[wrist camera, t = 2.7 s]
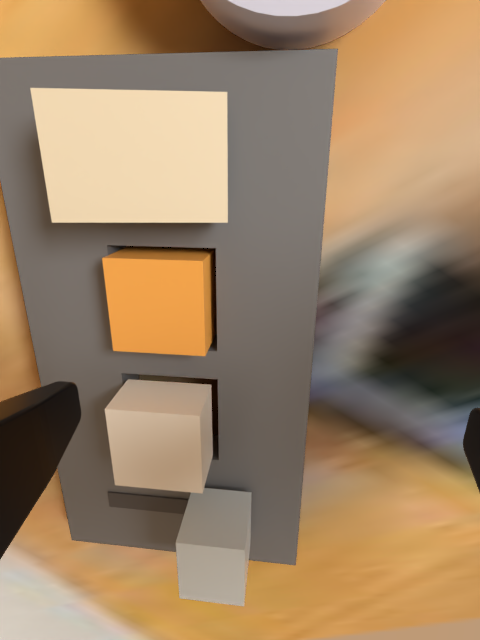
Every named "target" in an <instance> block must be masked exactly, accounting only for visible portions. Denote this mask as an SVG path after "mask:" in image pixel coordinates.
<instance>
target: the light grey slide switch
mask: <svg viewBox="0 0 480 640" xmlns="http://www.w3.org/2000/svg"><path fill="white" fill-rule="evenodd" d="M251 494H252V492H243V491H233V490H222V489H211V488H204V490H203V494H202V493H192V492H191V494H190V497H189V500H188V504H187V507H186V510H185V514H184V517H183V520H182V523H181V527H180V530H179V533H178V537H177V540H176V555H177V569H178V584H179V598H181V599H189V600H197V601H205V602H213V603H221V604H229V605H237V606H244V603H245V592H246V582H247V572H248V562H249V552H250V538H251Z"/></svg>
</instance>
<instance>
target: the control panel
mask: <svg viewBox="0 0 480 640" xmlns="http://www.w3.org/2000/svg"><path fill="white" fill-rule="evenodd" d="M337 52H338V49H313V50H276V51H238V52H201V53H163V54H126V55H89V56H51V57H14V58H0V181H1V186H2V192H3V197H4V202H5V207H6V212H7V217H8V222H9V227H10V232H11V237H12V242H13V247H14V252H15V257H16V262H17V267H18V272H19V277H20V282H21V287H22V292H23V297H24V302H25V307H26V312H27V317H28V322H29V327H30V332H31V337H32V342H33V347H34V352H35V357H36V362H37V367H38V372H39V377H40V382H41V387H43V386H45V385H48V384H51V383H54V382H57V381H66V382H74V383H75V384H76V385H77V388H78V393H79V399H80V405H81V420H80V423H79V425H78V427H77V429H76V431H75V433H74V435H73V437H72V439H71V441H70V443H69V445H68V447H67V449H66V451H65V453H64V455H63V457H62V459H61V461H60V463H59V465H58V467H57V468H58V473H59V478H60V483H61V488H62V493H63V498H64V503H65V508H66V513H67V518H68V523H69V528H70V533H71V538H72V540H75V541H84V542H93V543H102V544H111V545H120V546H129V547H137V548H146V549H155V550H164V551H173V552H176V540H177V537H178V533H179V530H180V527H181V523H182V520H183V517H184V514H185V510H186V507H187V504H188V500H189V497H190V494H191V492H181V491H171V490H160V489H150V488H139V487H129V486H118V485H115V482H114V474H113V467H112V460H111V452H110V445H109V438H108V430H107V423H106V416H105V408H106V407H107V405H108V404H109V403H110V401H111V400H112V399H113V398H114V396H115V395H116V394H117V393H118V391H119V390H120V389H121V387H122V386H123V385H124V384H125V382H126V381H127V380H128V379H132V380H139V374H142V375H158V376H173V377H189V378H205V379H218V434H219V435H214V434H212V437H213V456H212V460H211V464H210V468H209V471H208V475H207V479H206V483H205V486H204V488H211V489H222V490H233V491H243V492H252V494H251V538H250V552H249V560H253V561H262V562H271V563H280V564H289V565H296V556H297V544H298V532H299V519H300V507H301V495H302V482H303V470H304V458H305V446H306V433H307V421H308V409H309V396H310V384H311V372H312V360H313V347H314V335H315V323H316V310H317V298H318V286H319V274H320V261H321V249H322V237H323V224H324V212H325V200H326V188H327V175H328V163H329V151H330V138H331V126H332V114H333V102H334V89H335V77H336V65H337ZM30 88H63V89H111V90H160V91H209V92H227V145H228V223H52V220H51V214H50V208H49V202H48V195H47V189H46V183H45V177H44V171H43V164H42V158H41V152H40V146H39V139H38V133H37V127H36V121H35V115H34V108H33V102H32V96H31V90H30ZM126 246H154V247H191V248H216V301H217V334H215V336H214V338H213V341H212V343H211V345H210V347H209V349H208V352H207V354H206V356H192V355H175V354H157V353H140V352H122V351H113V345H112V336H111V328H110V320H109V311H108V303H107V295H106V286H105V278H104V269H103V261H102V258H103V257H105V256H108V255H110V254H112V253H115V252H117V251H119V250H121V249H124V248H126Z"/></svg>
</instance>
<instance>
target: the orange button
mask: <svg viewBox="0 0 480 640" xmlns="http://www.w3.org/2000/svg"><path fill="white" fill-rule="evenodd" d="M102 261H103V269H104V278H105V286H106V295H107V303H108V311H109V320H110V328H111V336H112V345H113V351H122V352H140V353H157V354H175V355H192V356H206V354H207V352H208V349H209V347H210V345H211V343H212V341H213V338H214V336H215V334H216V316H215V254H214V249H179V248H143V247H126V248H124V249H121V250H119V251H117V252H115V253H112V254H110V255H108V256H105V257H103V258H102Z"/></svg>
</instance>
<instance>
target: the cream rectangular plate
mask: <svg viewBox="0 0 480 640" xmlns="http://www.w3.org/2000/svg"><path fill="white" fill-rule="evenodd" d="M30 90H31V96H32V102H33V108H34V115H35V121H36V127H37V133H38V139H39V146H40V152H41V158H42V164H43V171H44V177H45V183H46V189H47V195H48V202H49V208H50V214H51V220H52V223H228V145H227V92H209V91H160V90H111V89H63V88H30Z"/></svg>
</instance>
